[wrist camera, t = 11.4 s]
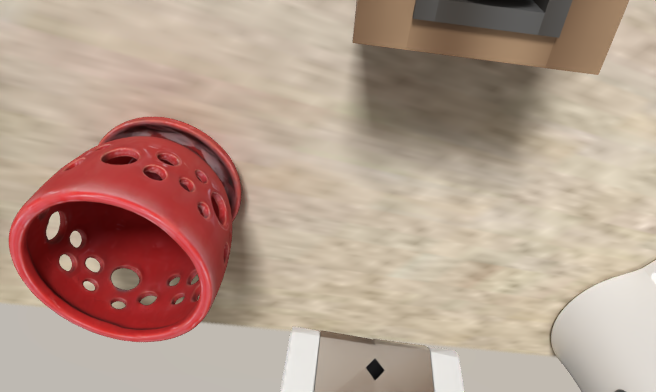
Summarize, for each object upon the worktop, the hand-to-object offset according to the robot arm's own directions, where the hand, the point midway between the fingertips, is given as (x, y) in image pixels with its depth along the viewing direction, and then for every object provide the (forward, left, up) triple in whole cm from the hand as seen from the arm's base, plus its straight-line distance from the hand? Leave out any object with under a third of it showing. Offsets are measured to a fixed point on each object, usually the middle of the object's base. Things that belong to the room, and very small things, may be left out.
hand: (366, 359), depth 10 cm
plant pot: (+14, +16, -29) cm, 36 cm away
